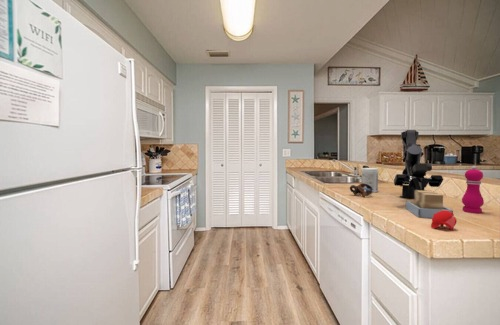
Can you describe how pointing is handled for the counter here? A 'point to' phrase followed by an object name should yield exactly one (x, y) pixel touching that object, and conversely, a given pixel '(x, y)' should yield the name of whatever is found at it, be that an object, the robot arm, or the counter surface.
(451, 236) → the counter surface
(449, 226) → the cap
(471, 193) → the pepper mill
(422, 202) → the oak block
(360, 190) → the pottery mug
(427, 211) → the box
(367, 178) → the supplement tub
